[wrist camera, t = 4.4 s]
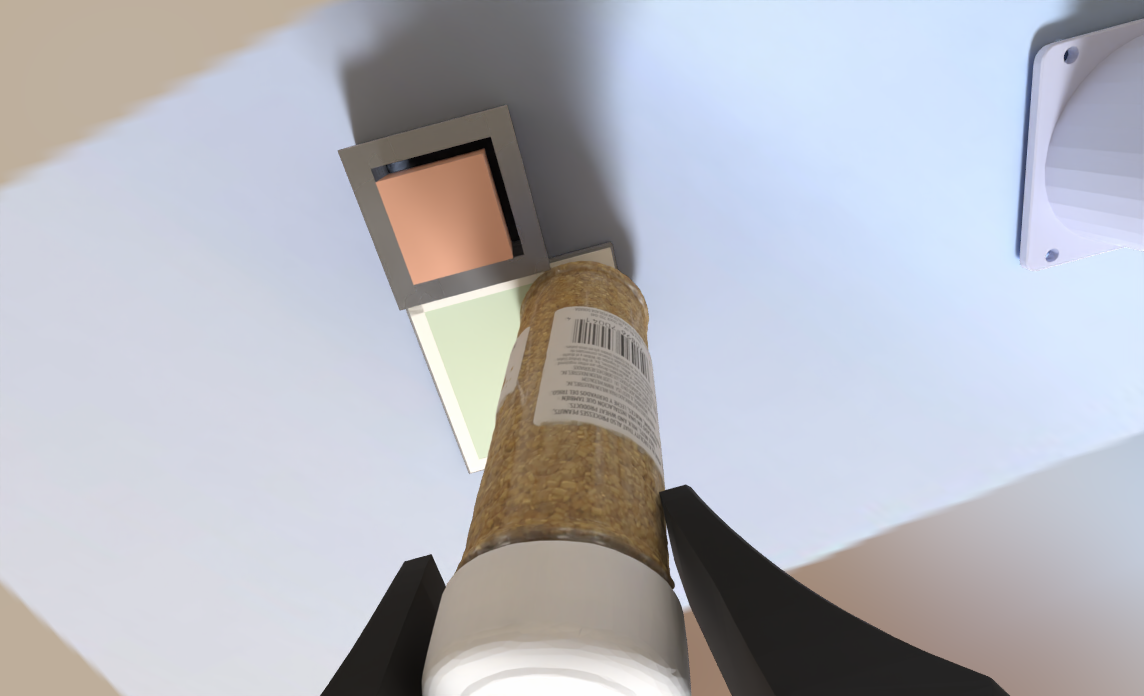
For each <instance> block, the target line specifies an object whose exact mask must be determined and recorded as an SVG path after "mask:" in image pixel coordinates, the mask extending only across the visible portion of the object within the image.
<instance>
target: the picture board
mask: <svg viewBox="0 0 1144 696" xmlns="http://www.w3.org/2000/svg"><path fill="white" fill-rule="evenodd" d="M548 259H549V263H550V266H551V268H553V267H556V266H559V265H562V264H566V263H569V262H576V261H593V262H599V263H601V264H605V265H607V266H611V267H613V268H615V269H617V270H618V268H617V263H616V259H615V254H614V250H613V245H612V243H611V242H608V243H604V244H600V245H597V246H593V247H589V248H586V249H582V250H578V251H574V252H571V253H567V254H563V255H560V256H556V257H552V258H548ZM543 273H544V272H541V273H537V274H534V275H530V276H526V277H522V278H519V279H515V280H511V281H508V282H504V283H500V284H496V285H493V286H489V287H485V288H482V289H478V290H474V291H470V292H467V293H463V294H459V295H456V296H452V297H448V298H444V299H441V300H437V301H433V302H430V303H426V304H422V305H418V306H415V307H411V308H407V309H406V311H407V314H408V316H409V319H410V322H411V324H412V327H413V329H414V332H415V335H416V337H417V340H418V342H419V345H420V348H421V350H422V353H423V355H424V358H425V361H426V363H427V366H428V368H429V371H430V374H431V376H432V379H433V382H434V384H435V387H436V389H437V392H438V395H439V397H440V400H441V402H442V405H443V408H444V410H445V413H446V415H447V418H448V421H449V423H450V426H451V428H452V431H453V434H454V436H455V439H456V441H457V444H458V447H459V449H460V452H461V454H462V457H463V460H464V462H465V465H466V467H467V470H468V473H469V474H471V473H474V472H478V471H482V470H484V469H485V465H486V461H487V456H488V451H489V448H490V443H491V440H492V435H493V431H494V429H495V417H496V410H497V406H498V401H499V397H500V393H501V390H502V386H503V382H504V377H505V373H506V369H507V365H508V361H509V358H510V354H511V351H512V348H513V346H514V344H515V342H516V340H517V335H518V331H519V328H520V309H521V304H522V301H523V299H524V297H525V295H526V293H527V292H528V291H529V288H530V287H531V285H532V284H533V283H534V281H535V280H536V279H537V278H538V277H539V276H541V275H542V274H543Z"/></svg>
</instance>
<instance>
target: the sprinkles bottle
mask: <svg viewBox="0 0 1144 696" xmlns="http://www.w3.org/2000/svg"><path fill="white" fill-rule="evenodd" d="M648 322H649V314H648V308H647V304H646V302H645V299H644V296H643V295H642V293H641V291H640V289H639V288H638V287H637V285H635V284H634V283H633V281H632V280H631V279H630V278H629V277H627V276H626V275H624V274H622V273H621V272H620V271H619V270H617V269H615V268H613V267H611V266H607V265H605V264H601V263H599V262H593V261H576V262H569V263H566V264H562V265H559V266H556V267H553V268H551V270H548V271H545V272H544V273H543V274H542V275H541V276H539V277H538V278H537V279H536V280H535V281H534V283H533V284H532V285H531V287H530V288H529V291H528V292H527V293H526V295H525V297H524V299H523V301H522V304H521V309H520V328H519V331H518V335H517V340H516V342H515V344H514V346H513V348H512V351H511V354H510V358H509V361H508V365H507V369H506V373H505V377H504V382H503V386H502V390H501V393H500V397H499V401H498V406H497V410H496V417H495V429H494V431H493V435H492V440H491V443H490V448H489V451H488V456H487V461H486V465H485V469H484V473H483V476H482V480H481V484H480V488H479V491H478V494H477V498H476V503H475V507H474V512H473V519H472V522H471V525H470V529H469V533H468V538H467V543H466V549H465V551H464V554H463V557H462V560H461V562H460V563H459V565H458V567H457V570H456V572H455V574H454V575H453V577H452V578H451V579H450V581H449V582H448V583H447V586H446V588H445V590H444V592H443V594H442V598H441V601H440V605H439V609H438V613H437V616H436V620H435V624H434V628H433V632H432V636H431V640H430V644H429V648H428V652H427V656H426V661H425V665H424V670H423V675H422V696H691V683H690V669H689V658H688V647H687V639H686V631H685V623H684V614H683V611H682V607H681V604H680V601H679V599H678V597H677V596H676V594H675V592H674V591H673V590H672V589H674V587H675V584H674V581H673V580H672V578H671V576H670V568H669V553H668V547H667V545H668V541H667V535H666V521H665V516H664V511H663V506H662V503H661V499H660V494H659V492H661V491H664V490H665V483H664V472H663V462H662V451H661V442H660V433H659V424H658V413H657V403H656V394H655V385H654V375H653V367H652V361H651V357H650V353H649V351H648V341H647V330H648Z"/></svg>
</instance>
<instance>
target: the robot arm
mask: <svg viewBox="0 0 1144 696" xmlns="http://www.w3.org/2000/svg"><path fill="white" fill-rule="evenodd" d="M1067 50H1068V57H1067V59H1066V61H1065V62H1064V58H1063V57H1064V54H1065V52H1066V51H1067ZM1124 247H1126V248H1130V249H1134V250H1138V251H1143V252H1144V18H1143V19H1139V20H1135V21H1132V22H1128V23H1124V24H1120V25H1117V26H1113V27H1109V28H1105V29H1102V30H1098V31H1094V32H1091V33H1087V34H1083V35H1079V36H1076V37H1072V38H1068V39H1065V40H1061V41H1057V42H1053V43H1050V44H1047V45H1045V46H1043V47H1042V48H1041V49H1040V50H1039V51H1038V53H1037V55H1036V57H1035V60H1034V65H1033V79H1032V92H1031V106H1030V120H1029V134H1028V148H1027V162H1026V176H1025V190H1024V204H1023V218H1022V232H1021V246H1020V265H1021V266H1022V268H1025V269H1027V270H1031V271H1039V270H1042V269H1046V268H1050V267H1054V266H1057V265H1061V264H1065V263H1068V262H1072V261H1076V260H1079V259H1083V258H1087V257H1091V256H1094V255H1098V254H1102V253H1105V252H1109V251H1113V250H1116V249H1120V248H1124ZM1049 250H1050V253H1049V255H1048V256H1047V257H1046V254H1047V253H1048V252H1049ZM1045 257H1046V258H1045ZM659 494H660V499H661V503H662V506H663V511H664V516H665V521H666V525H667V530H668V534H669V539H670V543H671V547H672V552H673V556H674V561H675V564H676V567H677V570H678V573H679V576H680V579H681V582H682V584H683V587H684V590H685V593H686V596H687V599H688V602H689V605H690V607H691V609H692V611H693V613H694V615H695V618H696V620H697V622H698V624H699V626H700V628H701V631H702V633H703V635H704V637H705V639H706V641H707V643H708V646H709V648H710V650H711V652H712V654H713V656H714V659H715V661H716V663H717V665H718V667H719V669H720V671H721V673H722V675H723V678H724V680H725V682H726V684H727V686H728V689H729V691H730V693H731V695H732V696H1010V695H1009V694H1008V693H1007V692H1005V691H1004V690H1003V689H1002V688H1001V687H1000V686H999V685H998V684H997V683H996V682H995V681H994V680H993V679H992V678H990V677H988V676H986V675H983V674H980V673H978V672H975V671H973V670H970V669H968V668H965V667H963V666H960V665H958V664H955V663H953V662H950V661H948V660H945V659H943V658H940V657H938V656H935V655H932V654H930V653H928V652H925V651H923V650H921V649H919V648H916V647H914V646H912V645H910V644H908V643H905V642H904V641H901V640H899V639H897V638H895V637H893V636H891V635H889V634H887V633H885V632H883V631H882V630H880V629H878V628H876V627H874V626H872V625H870V624H869V623H867V622H865V621H863V620H861V619H859V618H857V617H855V616H853V615H851V614H850V613H848V612H846V611H844V610H842V609H841V608H839V607H838V606H836V605H834V604H833V603H831V602H829V601H828V600H826V599H824V598H823V597H821V596H820V595H818V594H816V593H815V592H813V591H812V590H810V589H809V588H807V587H806V586H804V585H803V584H801V583H800V582H798V581H797V580H795V579H794V578H793V577H791V576H790V575H788V574H787V573H786V572H784V571H783V570H781V569H780V568H779V567H778V566H776V565H775V564H774V563H772V562H771V561H770V560H768V559H767V558H766V557H764V556H763V555H762V554H761V553H759V552H758V551H757V550H756V549H755V548H753V547H752V546H751V545H750V544H749V543H747V542H746V541H745V540H744V539H743V538H742V537H741V536H739V535H738V534H737V533H736V532H735V531H734V530H732V529H731V528H730V527H729V526H728V525H727V524H726V523H725V522H724V521H723V520H722V519H721V518H720V517H719V516H718V515H716V514H715V513H714V512H713V511H712V510H711V509H710V508H709V507H708V506H707V505H706V503H705V502H704V501H703V500H702V499H701V498H700V497H699V496H698V495H697V494H696V492H695V491H694V490H693V489H692V488H691V487H689V486H687V485H683V486H679V487H675V488H672V489H668V490H664V491H661V492H659ZM445 588H446V586H445V583H444V581H443V579H442V577H441V574H440V572H439V570H438V568H437V566H436V563H435V561H434V559H433V557H432V554H430V555H427V556H423V557H419V558H416V559H412V560H408V561H405V562H404V563H403V565H402V567H401V568H400V570H399V572H398V573H397V575H396V576H395V578H394V580H393V581H392V583H391V585H390V587H389V588H388V590H387V592H386V593H385V595H384V597H383V598H382V600H381V602H380V604H379V605H378V607H377V609H376V610H375V612H374V614H373V615H372V617H371V619H370V620H369V622H368V624H367V625H366V627H365V628H364V630H363V632H362V633H361V635H360V637H359V638H358V640H357V641H356V643H355V645H354V646H353V648H352V649H351V651H350V653H349V654H348V656H347V657H346V658H345V660H344V661H343V663H342V664H341V666H340V667H339V669H338V670H337V672H336V673H335V675H334V676H333V678H332V679H331V681H330V682H329V684H328V685H327V687H326V688H325V690H324V691H323V692H322V694H321V695H320V696H422V675H423V670H424V665H425V661H426V656H427V652H428V648H429V644H430V640H431V636H432V632H433V628H434V624H435V620H436V616H437V613H438V609H439V605H440V601H441V598H442V594H443V592H444V590H445Z"/></svg>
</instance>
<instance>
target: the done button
mask: <svg viewBox="0 0 1144 696" xmlns="http://www.w3.org/2000/svg"><path fill="white" fill-rule="evenodd" d="M376 185H377V187H378V190H379V193H380V196H381V198H382V201H383V204H384V206H385V209H386V212H387V214H388V217H389V220H390V222H391V225H392V228H393V231H394V233H395V236H396V239H397V241H398V244H399V247H400V249H401V252H402V255H403V257H404V260H405V263H406V266H407V268H408V271H409V274H410V276H411V279H412V282H413V284H414V285H415V284H419V283H423V282H427V281H430V280H434V279H438V278H441V277H445V276H449V275H453V274H456V273H460V272H464V271H467V270H471V269H475V268H479V267H482V266H486V265H490V264H494V263H497V262H501V261H505V260H508V259H512V258H513V249H512V241H511V238H510V234H509V231H508V227H507V224H506V220H505V217H504V213H503V210H502V207H501V203H500V200H499V196H498V193H497V189H496V186H495V182H494V179H493V176H492V172H491V169H490V165H489V162H488V158H487V155H486V151H485V148H483V149H479V150H476V151H472V152H468V153H464V154H461V155H457V156H453V157H449V158H446V159H442V160H438V161H435V162H431V163H427V164H423V165H420V166H416V167H412V168H408V169H405V170H401V171H397V172H394V173H390V174H388V175H386V176H384V177H383V178H381V179H380V180H378V181H377V182H376Z"/></svg>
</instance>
